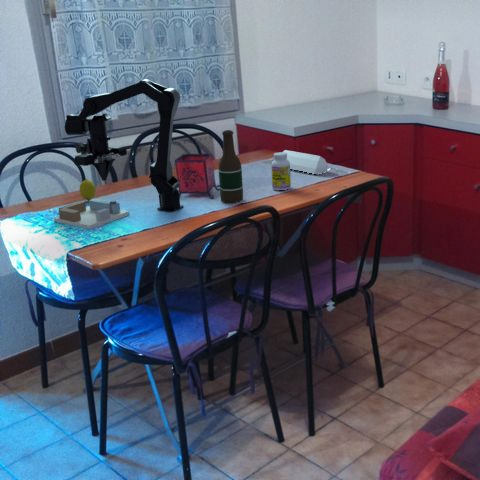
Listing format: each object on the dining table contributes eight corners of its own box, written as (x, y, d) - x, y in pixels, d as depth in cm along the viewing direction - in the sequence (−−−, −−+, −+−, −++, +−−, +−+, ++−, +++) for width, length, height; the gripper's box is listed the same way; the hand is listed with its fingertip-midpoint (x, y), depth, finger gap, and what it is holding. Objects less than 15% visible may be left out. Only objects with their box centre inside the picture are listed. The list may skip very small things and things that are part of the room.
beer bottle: (216, 201, 235) (211, 131, 227) (231, 196, 241) (227, 128, 233) (232, 205, 230) (227, 133, 222) (248, 199, 235) (244, 129, 228)
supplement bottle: (269, 190, 244) (268, 155, 240) (275, 186, 250) (274, 151, 246) (287, 191, 242) (286, 155, 238) (293, 186, 248) (292, 151, 244)
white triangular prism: (271, 159, 275) (314, 167, 258) (282, 148, 278) (325, 155, 260) (278, 173, 280) (321, 182, 262) (289, 162, 282) (332, 170, 264)
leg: (120, 211, 225) (119, 201, 224) (114, 213, 223) (113, 203, 222) (96, 206, 232) (94, 196, 231) (89, 209, 230) (88, 198, 229)
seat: (129, 214, 226) (128, 202, 225) (90, 229, 214) (88, 216, 212) (93, 207, 236) (92, 196, 235) (54, 221, 224) (52, 209, 222)
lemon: (93, 203, 243) (90, 181, 240) (78, 203, 244) (75, 181, 241) (99, 198, 248) (96, 177, 245) (85, 198, 249) (82, 177, 246)
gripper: (102, 128, 238) (108, 172, 243) (60, 138, 224) (66, 184, 229) (125, 130, 231) (130, 175, 236) (82, 140, 217) (89, 188, 223)
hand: (104, 180), depth 231 cm, fingers closed
